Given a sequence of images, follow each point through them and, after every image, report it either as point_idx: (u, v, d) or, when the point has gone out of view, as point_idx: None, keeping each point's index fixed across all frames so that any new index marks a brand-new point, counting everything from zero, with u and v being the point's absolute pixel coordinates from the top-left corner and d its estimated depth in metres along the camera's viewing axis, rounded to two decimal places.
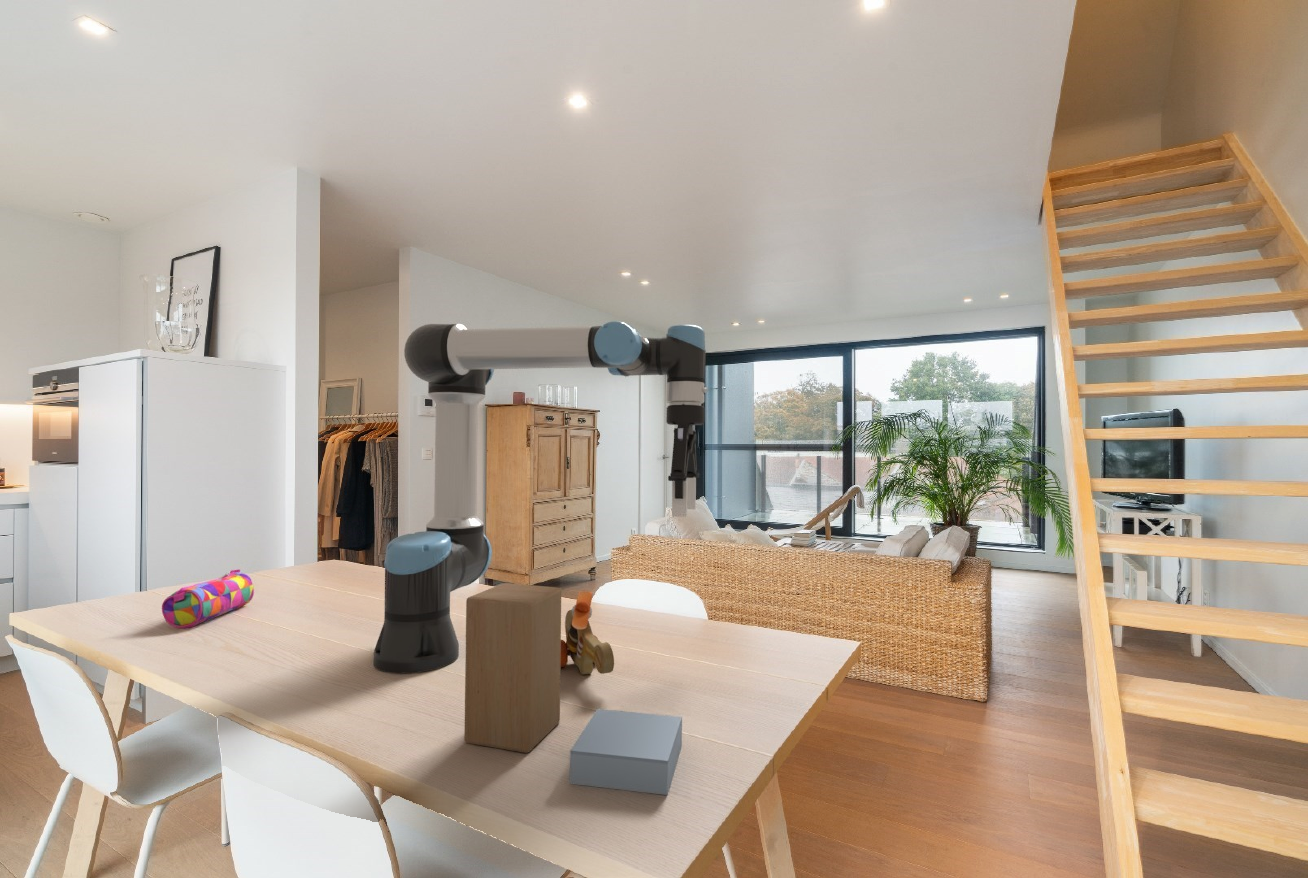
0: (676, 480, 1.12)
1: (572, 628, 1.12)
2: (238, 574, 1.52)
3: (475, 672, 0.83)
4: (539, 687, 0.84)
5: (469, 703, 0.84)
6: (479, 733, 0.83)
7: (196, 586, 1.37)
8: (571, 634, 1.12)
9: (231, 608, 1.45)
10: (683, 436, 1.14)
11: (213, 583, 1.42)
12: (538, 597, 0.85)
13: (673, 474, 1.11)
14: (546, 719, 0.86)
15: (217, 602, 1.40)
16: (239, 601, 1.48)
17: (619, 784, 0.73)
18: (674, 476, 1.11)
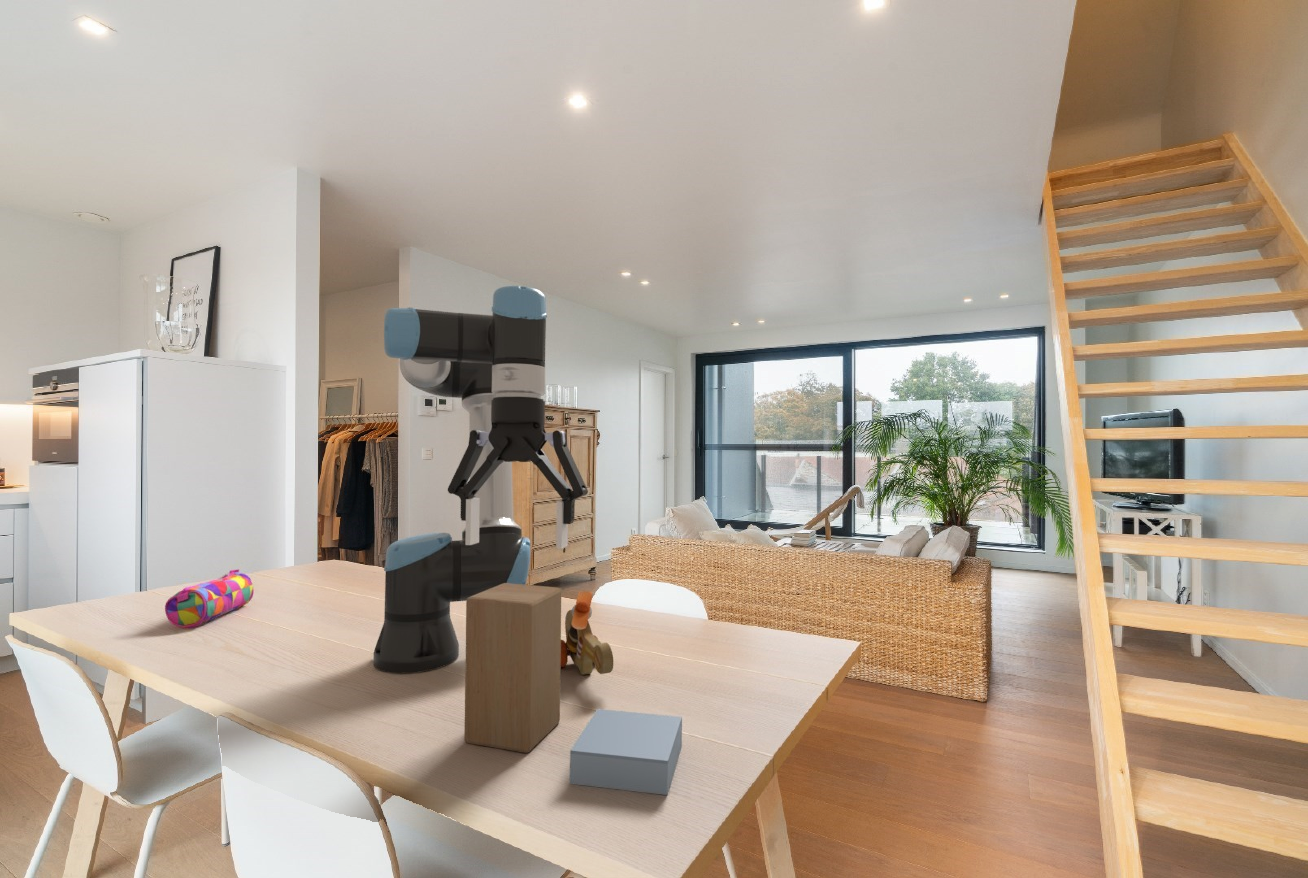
0: None
1: (572, 628, 1.12)
2: (238, 574, 1.52)
3: (475, 672, 0.83)
4: (539, 687, 0.84)
5: (469, 703, 0.84)
6: (479, 733, 0.83)
7: (199, 586, 1.38)
8: (571, 634, 1.12)
9: (233, 607, 1.46)
10: None
11: (215, 582, 1.42)
12: (538, 597, 0.85)
13: None
14: (546, 719, 0.86)
15: (220, 602, 1.40)
16: (240, 601, 1.48)
17: (619, 784, 0.73)
18: None
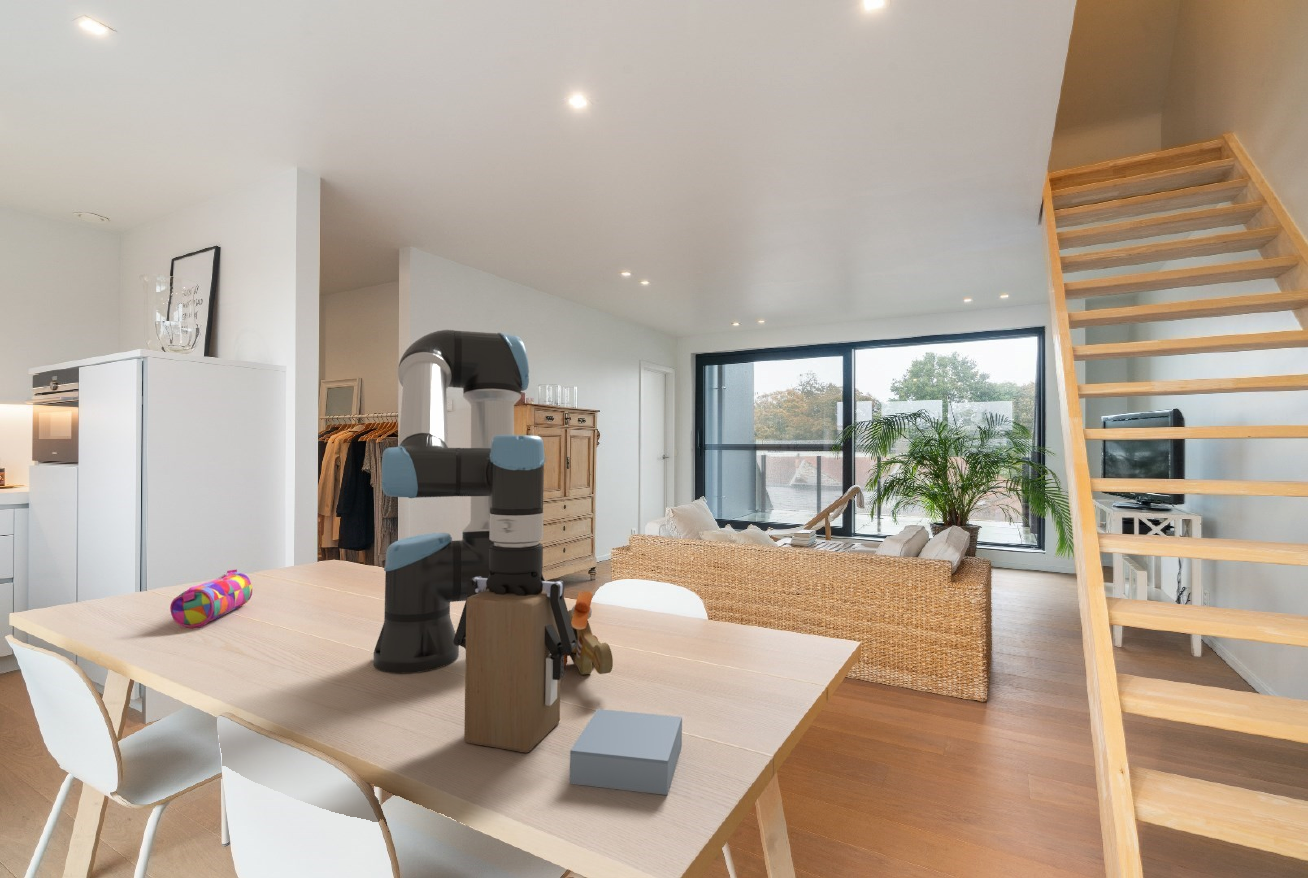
0: None
1: None
2: (237, 574, 1.52)
3: (475, 672, 0.83)
4: (539, 687, 0.84)
5: (469, 703, 0.84)
6: (479, 733, 0.83)
7: (204, 586, 1.38)
8: None
9: (234, 607, 1.46)
10: None
11: (218, 582, 1.42)
12: (538, 597, 0.85)
13: None
14: (546, 719, 0.86)
15: (224, 601, 1.40)
16: (241, 600, 1.48)
17: (619, 784, 0.73)
18: None
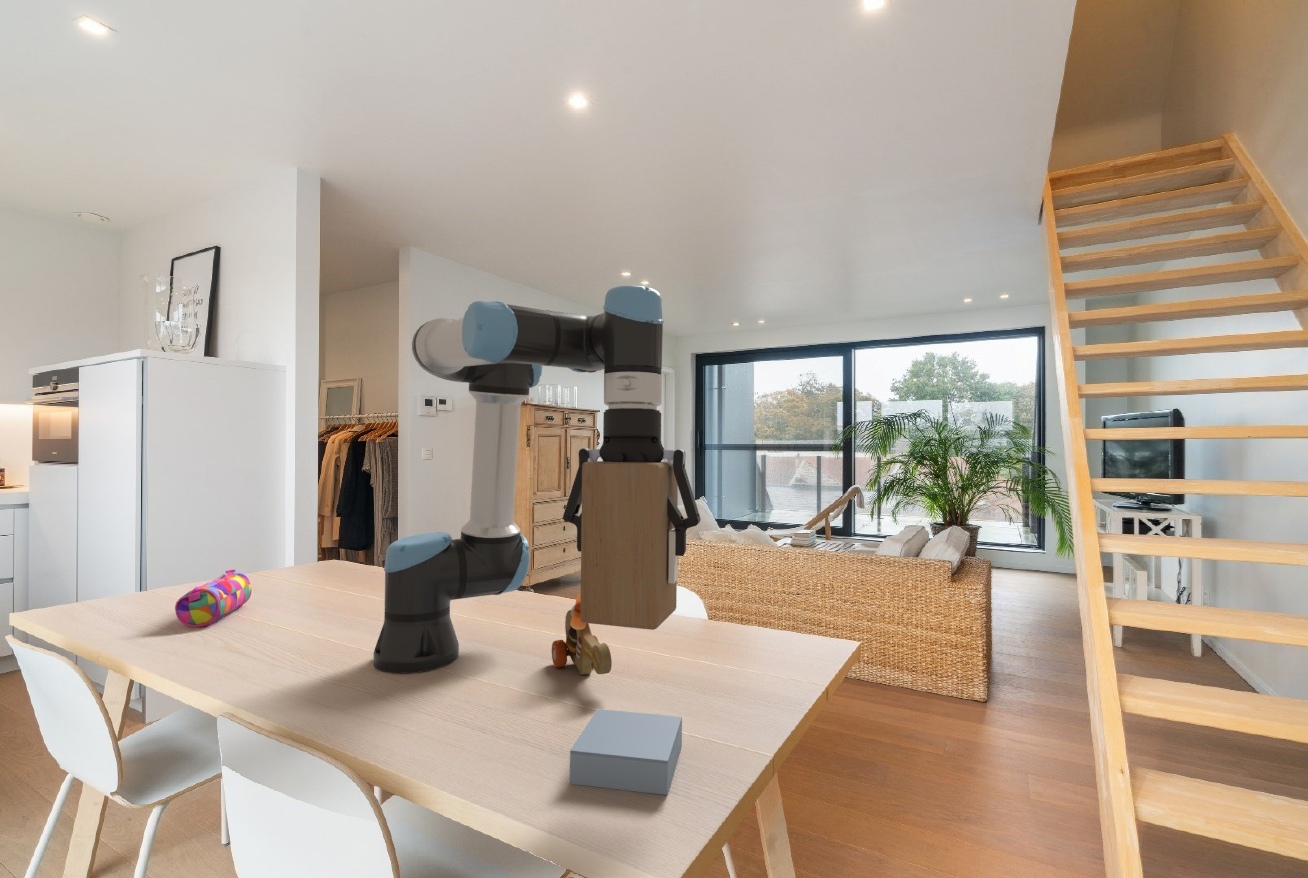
0: None
1: (571, 628, 1.12)
2: (236, 574, 1.52)
3: (593, 544, 0.75)
4: (663, 561, 0.76)
5: (586, 578, 0.76)
6: (598, 611, 0.75)
7: (208, 585, 1.38)
8: (570, 634, 1.12)
9: (236, 607, 1.46)
10: None
11: (220, 582, 1.42)
12: (661, 463, 0.77)
13: None
14: (668, 600, 0.78)
15: (228, 601, 1.41)
16: (242, 600, 1.48)
17: (619, 784, 0.73)
18: None
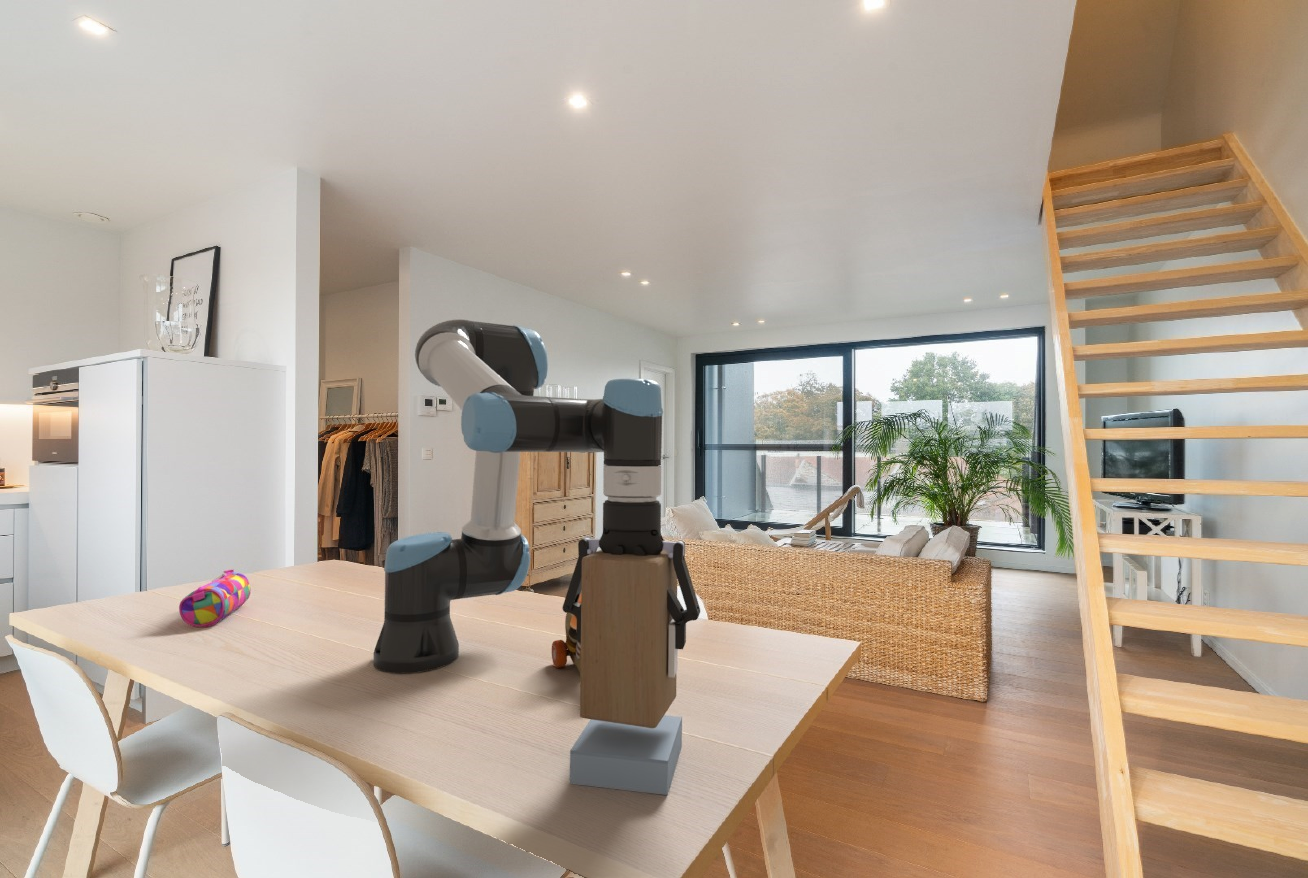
0: None
1: (571, 628, 1.12)
2: (235, 574, 1.52)
3: (592, 640, 0.75)
4: (663, 656, 0.76)
5: (586, 674, 0.75)
6: (598, 707, 0.75)
7: (211, 585, 1.38)
8: (570, 634, 1.11)
9: (237, 606, 1.47)
10: None
11: (222, 582, 1.43)
12: (661, 557, 0.76)
13: None
14: (668, 692, 0.78)
15: (231, 600, 1.41)
16: (243, 600, 1.49)
17: (619, 784, 0.73)
18: None
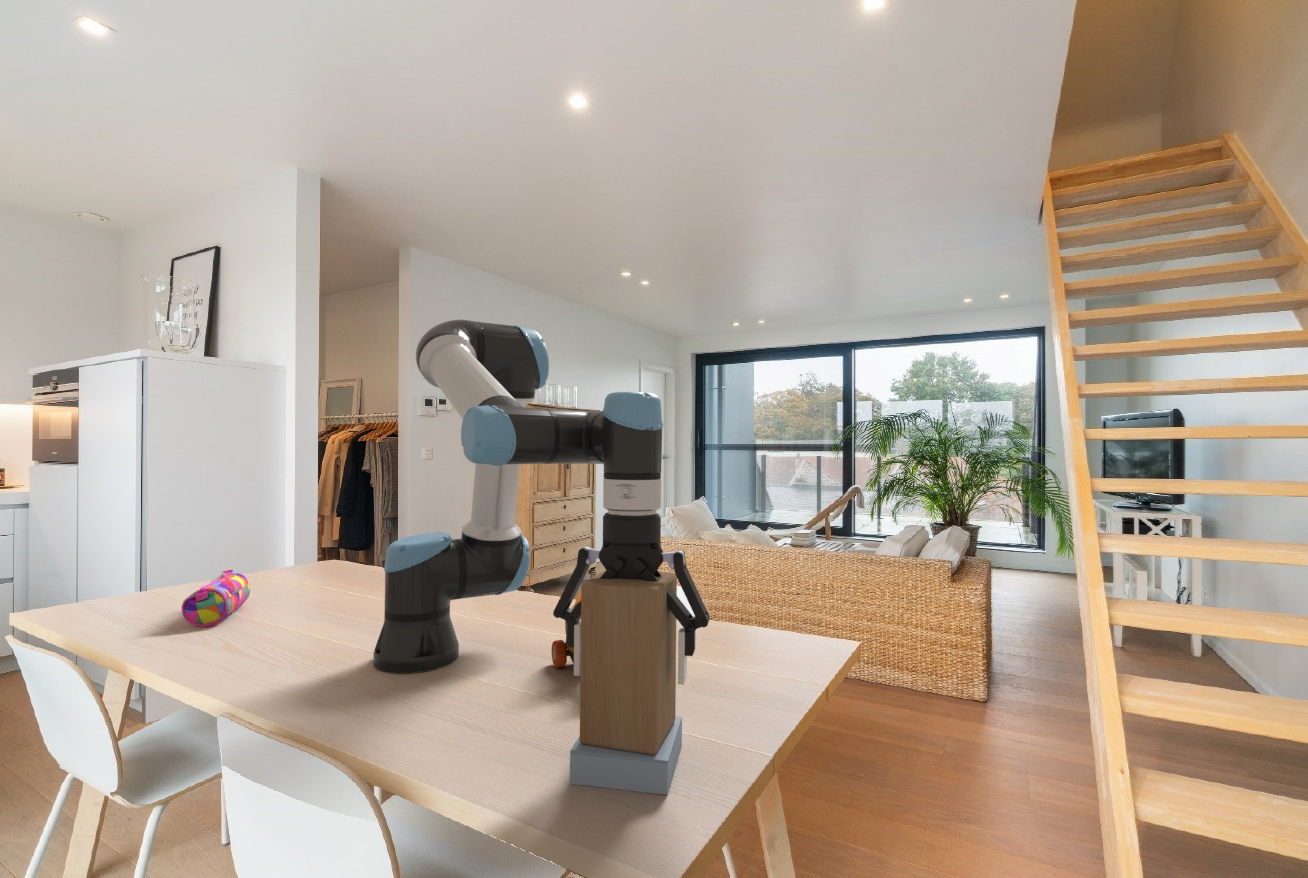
0: None
1: None
2: (234, 574, 1.52)
3: (592, 665, 0.75)
4: (663, 682, 0.76)
5: (585, 700, 0.75)
6: (597, 733, 0.75)
7: (213, 585, 1.38)
8: None
9: (238, 606, 1.47)
10: None
11: (224, 582, 1.43)
12: (660, 582, 0.76)
13: None
14: (667, 717, 0.78)
15: (233, 600, 1.42)
16: (243, 599, 1.49)
17: (619, 784, 0.73)
18: None
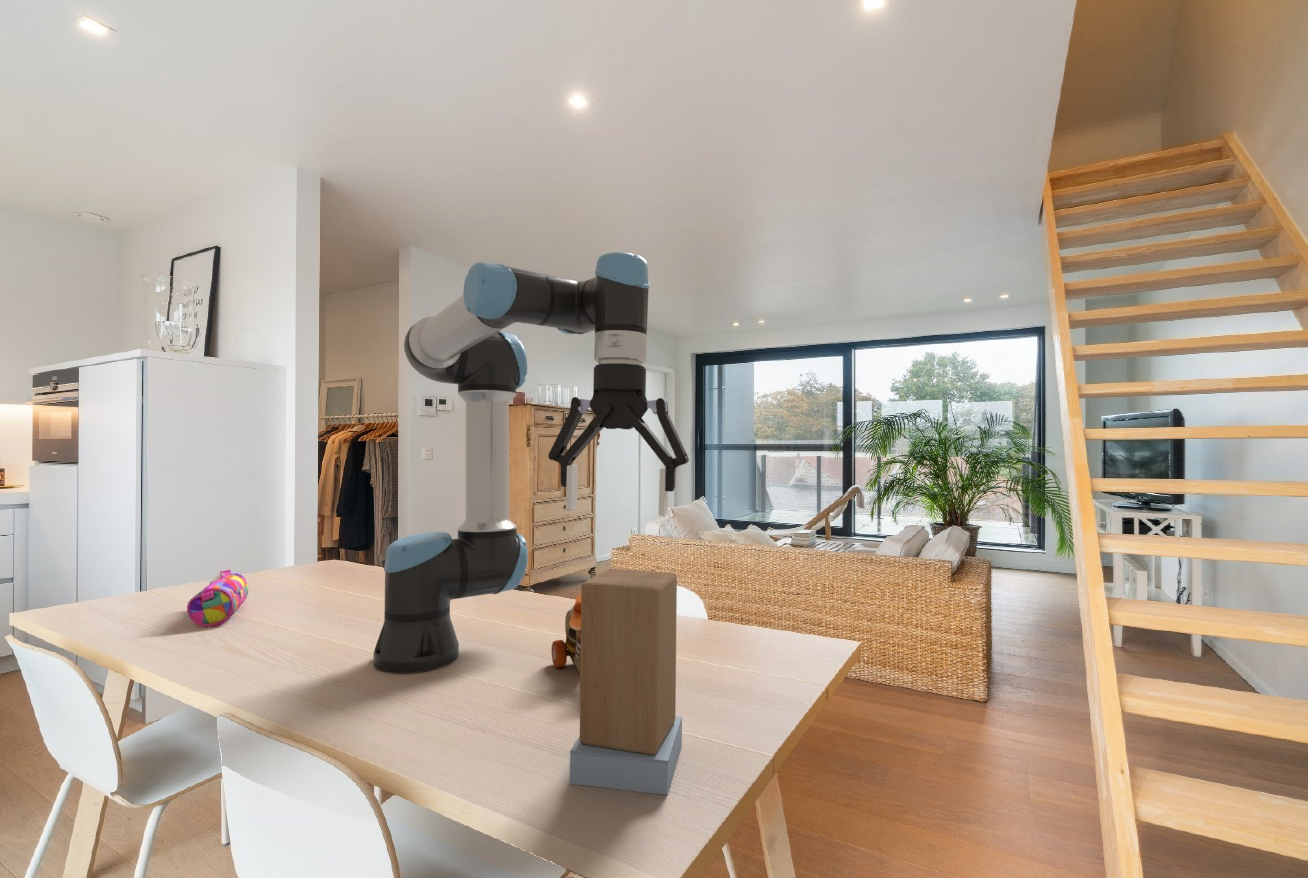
0: None
1: (571, 628, 1.12)
2: (233, 574, 1.52)
3: (592, 665, 0.75)
4: (663, 682, 0.76)
5: (585, 700, 0.75)
6: (597, 733, 0.75)
7: (217, 585, 1.39)
8: (570, 634, 1.11)
9: (239, 606, 1.47)
10: None
11: (226, 581, 1.43)
12: (660, 582, 0.76)
13: None
14: (667, 717, 0.78)
15: (237, 600, 1.42)
16: (243, 599, 1.49)
17: (619, 784, 0.73)
18: None
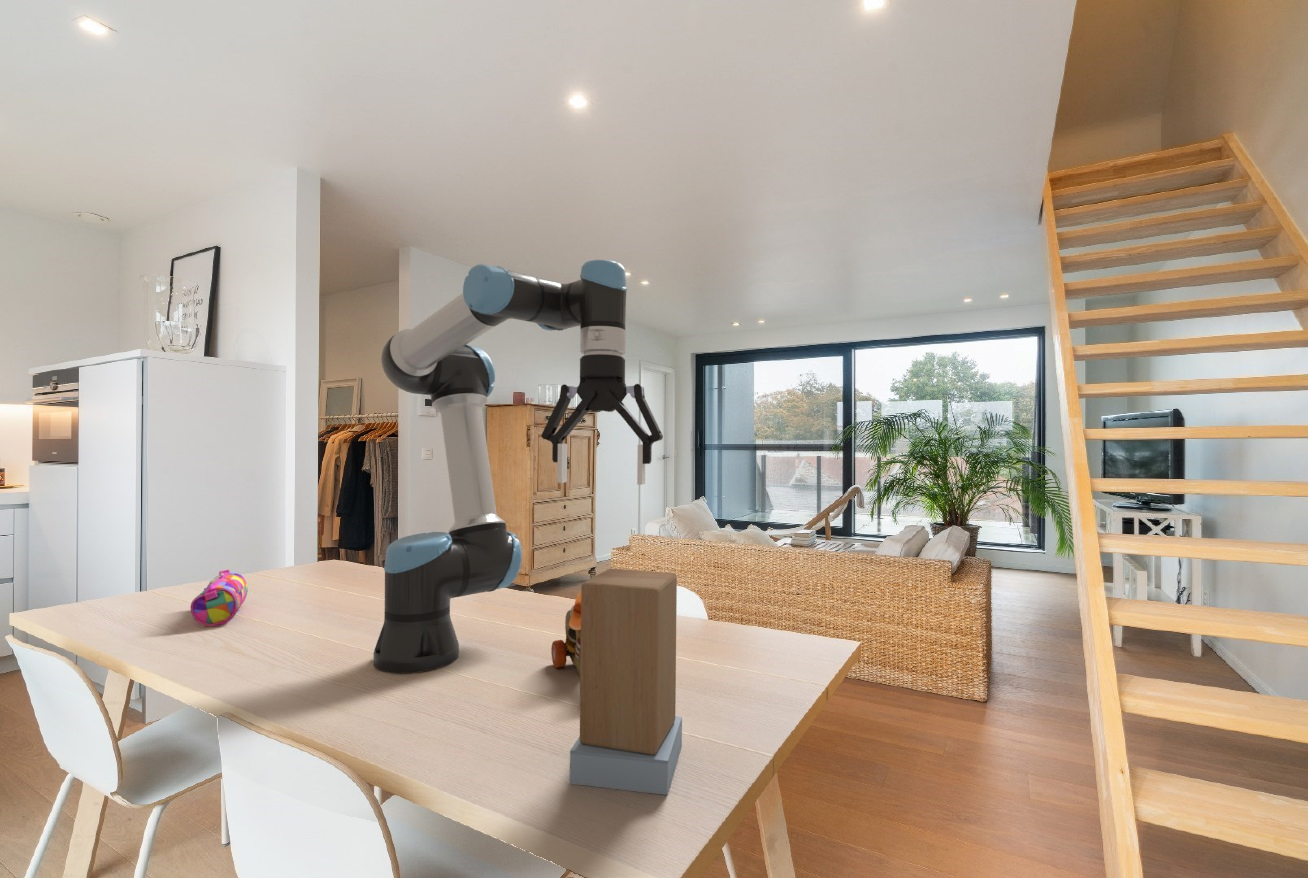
0: None
1: (571, 628, 1.12)
2: (232, 574, 1.52)
3: (592, 665, 0.75)
4: (663, 682, 0.76)
5: (585, 700, 0.75)
6: (597, 733, 0.75)
7: (220, 585, 1.39)
8: (570, 634, 1.11)
9: None
10: None
11: (228, 581, 1.43)
12: (660, 582, 0.76)
13: None
14: (667, 717, 0.78)
15: (239, 599, 1.42)
16: (244, 599, 1.49)
17: (619, 784, 0.73)
18: None
